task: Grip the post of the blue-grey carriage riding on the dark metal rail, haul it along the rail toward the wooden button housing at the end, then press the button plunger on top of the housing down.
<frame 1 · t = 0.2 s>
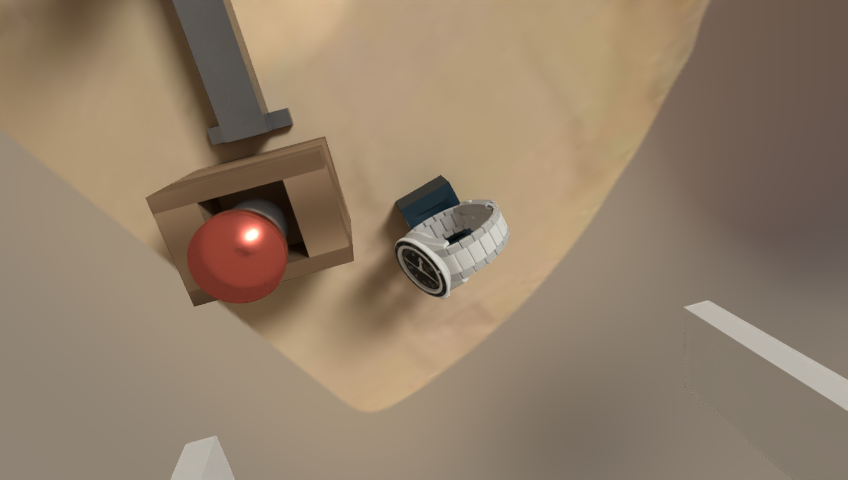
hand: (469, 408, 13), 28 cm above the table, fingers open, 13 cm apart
wooden button housing: (276, 196, 38), on the table
watch: (432, 216, 41), on the table
button plunger: (248, 241, 26), point 12 cm above the table, slide at 0.0 cm
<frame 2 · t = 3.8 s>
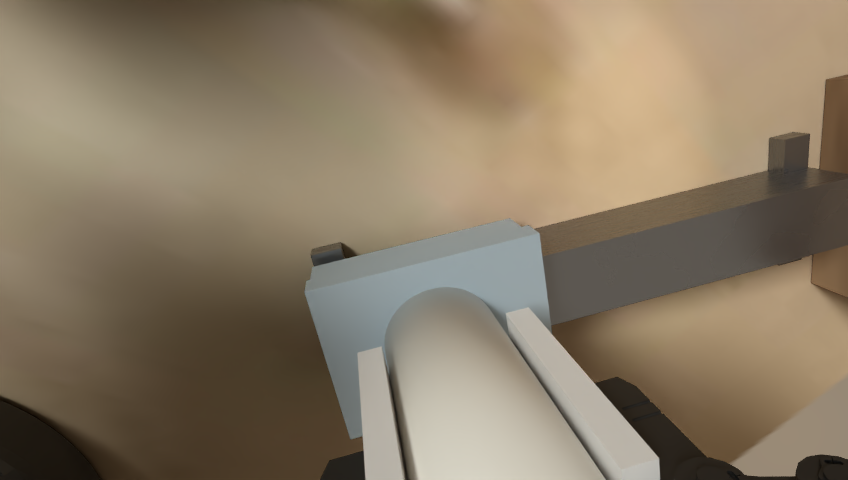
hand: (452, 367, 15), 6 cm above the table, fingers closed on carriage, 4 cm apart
carriage: (465, 400, 13), point 8 cm above the table, slide at 0.0 cm, touching gripper
rail: (571, 251, 21), on the table
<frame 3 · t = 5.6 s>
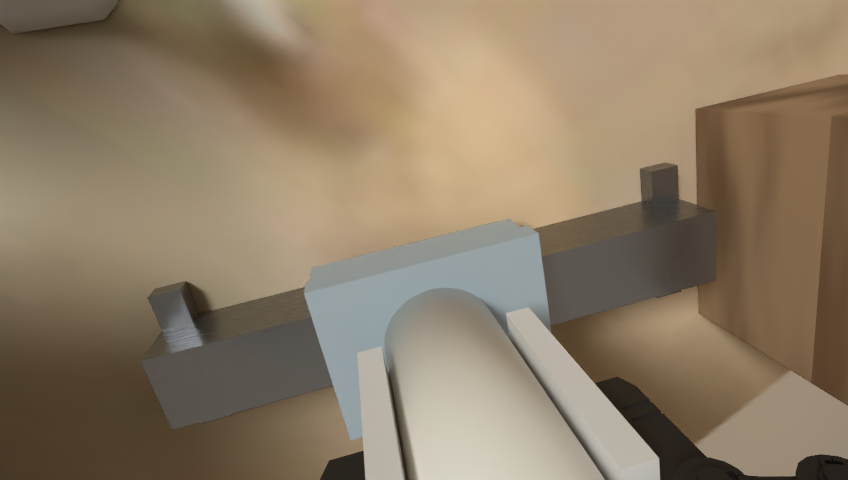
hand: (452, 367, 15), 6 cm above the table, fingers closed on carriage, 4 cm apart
wooden button housing: (765, 200, 22), on the table
carriage: (465, 401, 13), point 8 cm above the table, slide at 6.3 cm, touching gripper
rail: (437, 286, 21), on the table
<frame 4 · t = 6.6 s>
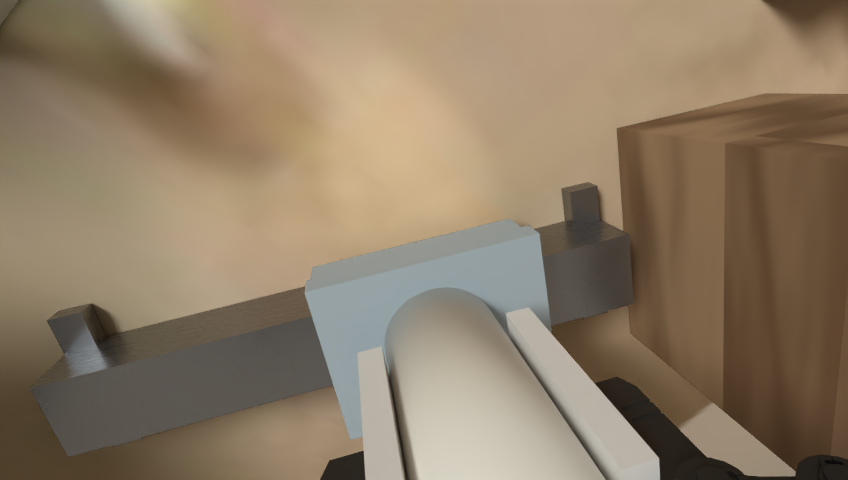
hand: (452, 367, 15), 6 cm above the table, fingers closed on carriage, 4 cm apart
wooden button housing: (694, 220, 22), on the table
carriage: (465, 400, 13), point 8 cm above the table, slide at 10.0 cm, touching gripper
rail: (355, 307, 21), on the table
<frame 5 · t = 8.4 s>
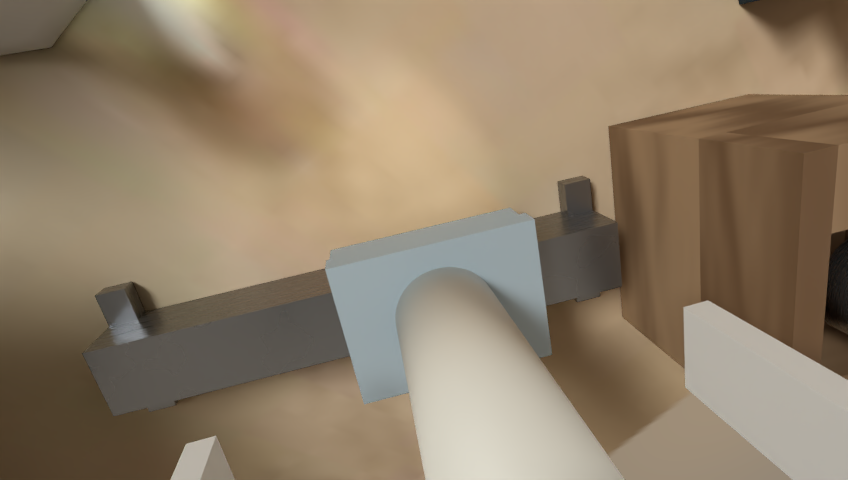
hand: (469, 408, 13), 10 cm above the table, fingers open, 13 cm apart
wooden button housing: (682, 211, 24), on the table
carriage: (466, 362, 15), point 8 cm above the table, slide at 10.0 cm
rail: (367, 289, 23), on the table
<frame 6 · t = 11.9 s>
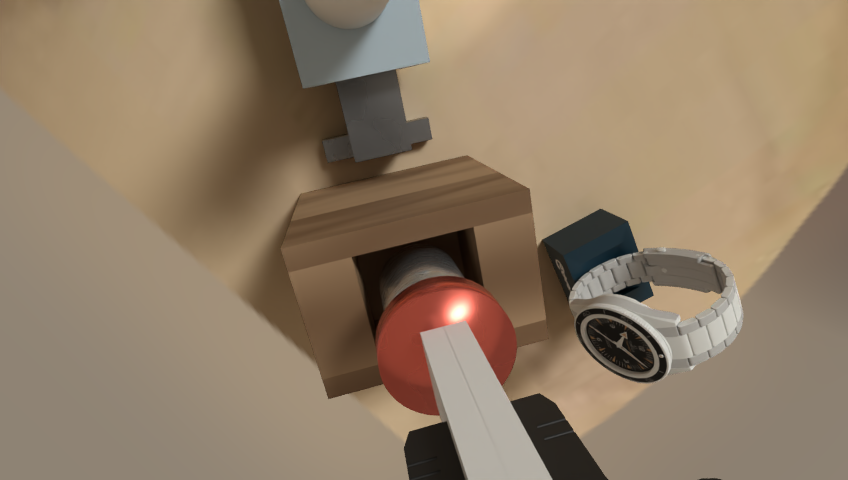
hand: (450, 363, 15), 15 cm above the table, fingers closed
wooden button housing: (398, 229, 29), on the table
watch: (582, 259, 32), on the table
button plunger: (431, 313, 18), point 11 cm above the table, slide at -0.7 cm, touching gripper
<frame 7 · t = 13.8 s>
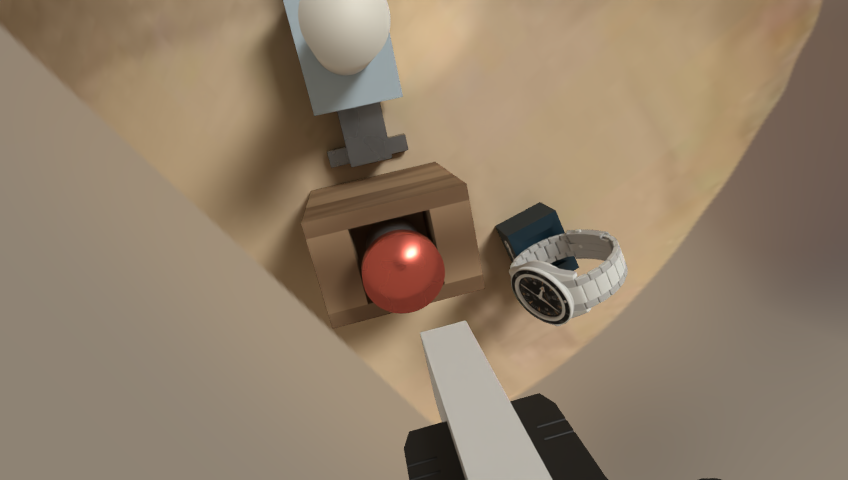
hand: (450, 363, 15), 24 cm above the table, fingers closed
wooden button housing: (384, 218, 39), on the table
carriage: (344, 36, 27), point 8 cm above the table, slide at 10.0 cm
watch: (527, 241, 42), on the table
button plunger: (397, 257, 29), point 10 cm above the table, slide at -2.2 cm
rail: (332, 4, 34), on the table
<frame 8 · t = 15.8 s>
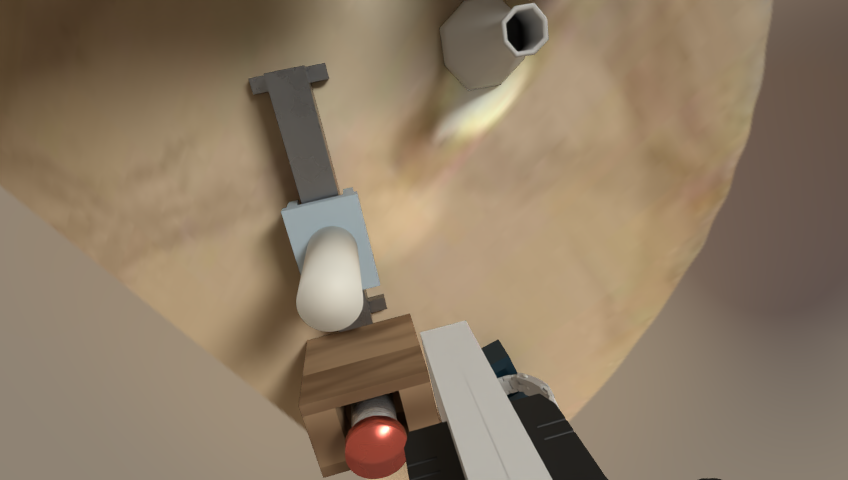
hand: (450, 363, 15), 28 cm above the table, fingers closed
wooden button housing: (367, 357, 47), on the table
carriage: (331, 264, 35), point 8 cm above the table, slide at 10.0 cm
watch: (489, 369, 50), on the table
button plunger: (374, 424, 37), point 10 cm above the table, slide at -2.2 cm
flask: (481, 44, 40), on the table
rail: (324, 202, 42), on the table
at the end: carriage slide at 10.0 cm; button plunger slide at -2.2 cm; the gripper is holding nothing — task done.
